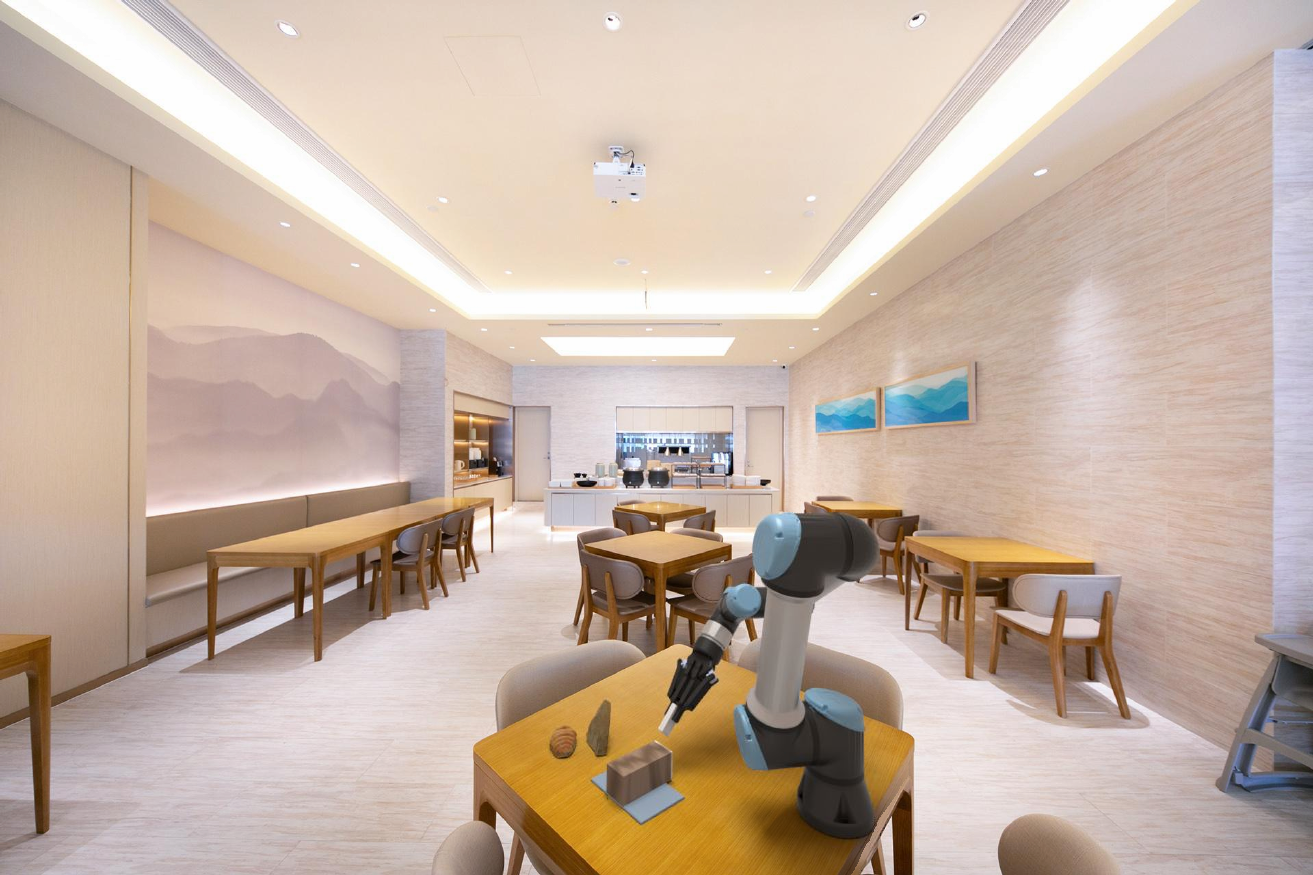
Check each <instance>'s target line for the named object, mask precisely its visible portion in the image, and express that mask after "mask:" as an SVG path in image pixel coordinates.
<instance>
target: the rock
mask: <svg viewBox="0 0 1313 875" xmlns="http://www.w3.org/2000/svg"><path fill="white" fill-rule="evenodd" d="M611 711H612V704H611V702H610V701H609V700H607V699H603V702H602V703H601V704H600V705H599V706H598V708H597V710H596V712H595V715H594V716H593V718H592V719H591V720H590V723H589V725H588V727H587V728H588V729H587V731H586V733H585V734H586V742H587V743H588V745H589V747H591V749H592V751H594V752H595V753H594V754H595V755H596V756H606V755H607V749H608V745H609V735H610V729H611V728H610V726H611Z"/></svg>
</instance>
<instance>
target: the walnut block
mask: <svg viewBox="0 0 1313 875" xmlns="http://www.w3.org/2000/svg"><path fill="white" fill-rule="evenodd" d="M673 757H674V756H673V751H672V750H670V749H669V748H668V747H666V746H665V745H663V744H662V743H660V742H659V741H657V740H653V741H651V742H649V743H647V744H645V745H642V746H640V747H638V748H636V749H634V750H632V751H630V752H628V753H626V754H624V755H622V756H619V757H617V758H615V759H614V760H611V761H609V762H607V763H606V771H607V781H606V792H607V793H608V794H609V795H610V796H611V797H613V798H614V799H615V800H616V801H617V802H618V803H619V804H621V805H622V806H625V805H627V804H629V803H631V802H632V801H634V800H636V799H638V798H640V797H641V796H643V795H645V794H647V793H648V792H650V791H652V790H654V789H656V788H657V787H659V786H661V785H663V784H665V783H668V782H670V781H671V780H673V770H674V769H673V762H674V761H673V760H674V758H673Z"/></svg>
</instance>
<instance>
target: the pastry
mask: <svg viewBox="0 0 1313 875" xmlns="http://www.w3.org/2000/svg"><path fill="white" fill-rule="evenodd" d="M577 734H578V733H577V731H576V730H574V728H573V727H572V726H570V725H567V724H565V725H561V726H559V727H556V729H555V730H553V733H552V735H551V738H550V739H549V743H550V748H551V750H552V753H553V755H554V756H555V757H556V758H558V759H559V758H560V759H561V758H566V757H569V756H571V755H572V753H573V752H574V751H575V749H576V746H577V744H578V740H577Z"/></svg>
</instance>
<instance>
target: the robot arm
mask: <svg viewBox="0 0 1313 875" xmlns="http://www.w3.org/2000/svg"><path fill="white" fill-rule="evenodd" d="M752 540H753V541H752V546H751V551H752V553H753V555H752V557H751V558H752V565H753V568H754V570H755V572H756V574H757V576H759V577H760V581H761V583H762V585H763V586H753V585H751V584H748V583H741V584H738V585H736V586H727V588H725V590H724V591H723V593H722V594H721V595H720V597H719V600H718V602H717V604H716V606H715V607H714V609H713V611H712V613H711V615H710V616H709V618H708V619H707V621H706V623H705V624H704V627H703V628H702V630H701V632H700V636H698V637H697V638H696V640H695V643H694V644H693V646H692V652H691V653H690V654H689V655H688V656H687V658H685V659H682V658H681V657H679V658H678V659H677V660H676V669H675V672H674V675H673V677H672V679H671V682H670V686H669V689H668V691H667V694H666V696H667V698H668V699H669V700H670V702H669V705H668V706H667V708H666V709H665V712H664V715H663V716H664V717H663V719H662V721H661V723H660V724H659V726H658V728H657V730H658V731H659V732H660V733H661V734H662V735H663V736H665V737H667V738H670V734H671V732H672V731H673V729H674V727H675V726H676V724H679V722H680V721H681V719H682V717H683V715H684V713H685V712H686V711H690V712H694V711H695V709H696V708H697V707H698V705H699V704H700V703H701V701H702V700H703V699H704V698H705V697H706V695H707V694H708V692H709V691H710V690H711V689H712V687H714V686H715V685H717V684H718V683H719V681H720V679H719V678H718V676H717V675H716V674H715V671H716V666H718V665H719V664H720V662H721V661H722V658H723V656H724V655H725V654H724V653H725V652H724V651H726V650H727V649H728V647H729V644H730V643H731V640H732V639H733V637H734V635H735V633H736V632H737V629H738V628H739V626H740V624H741V622H744V621H746V620H756V619H763V621H762V622H763V623H762V630H761V639H760V647H759V655H758V664H757V669H756V678H755V685H753V686H752V687H751V688H749V690H748V691H747V694H746V696H745V697H746V698H745V704H743V703H739V704H737V705H736V706H735V707H734V708H733V724H734V730H735V731H734V732H735V737H736V740H737V745H738V748H739V751H740V755H741V757H742V760H743V762H744V763H745V765H746V767H747V768H748V769H751V770H752V771H766V772H769V771H775V770H785V769H794V768H795V769H796V768H804V770H803V773H802V775H801V777H800V780H799V784H798V786H797V789H796V790H797V791H796V807H797V811H798V814H799V815H800V816H801V817H802V819H803V820H804V821H805V822H806V823H807V824H808V825H809V826H811V827H813V828H814V829H815V830H817V831H819V832H821V833H824V834H825V835H828V836H832V837H835V838H840V839H841V838H842V839H857V838H856V837H858V838H862V837H864V836H866V835H868V834H869V833H870V832H872V830H873V829H874V827H875V808H874V805H873V802H872V799H871V795H870V791H869V789H868V786H867V782H866V778H865V731H866V727H865V721H864V720H865V719H864V712H863V709H862V708H861V706H860V704H859V703H858V702H857V701H856V700H855V699H853V698H851V697H849V696H848V695H846V694H844V693H841V692H838V691H836V690H833V689H829V688H824V687H823V688H822V687H812V688H809V689H807V690H806V691H805V692H804V694H803V700H802V699H801V698H800V697H801V696H800V695H801V688H802V681H803V675H804V668H805V662H806V656H807V655H806V654H807V647H808V641H809V634H810V627H811V621H812V614H813V613H814V610H815V608H816V607H815V606H816V605H815V604H816V603H817V602H818V601H820V600H821V599H823V598H824V597H826V596H828V595H829V594H830V593H831V592H833V591H835V590H836V589H837V588H840V587H841V586H842V585H844V584H845V583H854V582H858V581H860V580H861V579H863V578H864V577H866V576H868V575H869V574H870V573H871V572H872V571H873V570H874V569H875V568H876V566H877V564H878V561H879V559H880V553H881V551H880V544H879V540H878V537H877V535H876V533H875V531H874V530H873V529H872V528H871V526H869V525H868V524H867V523H866V522H865V521H864V520H862V519H860V518H858V517H857V516H855V515H853V514H849V513H844V512H821V513H820V512H812V513H811V512H808V513H807V512H796V513H795V512H790V511H789V512H788V511H787V512H782V513H771V514H768V515H766V516H765V517H763V519H761V521H760V522H759V523H758V524H757V526H756V529H755V532H754V535H753V539H752Z"/></svg>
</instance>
